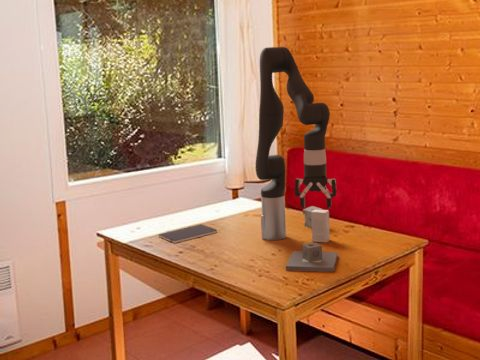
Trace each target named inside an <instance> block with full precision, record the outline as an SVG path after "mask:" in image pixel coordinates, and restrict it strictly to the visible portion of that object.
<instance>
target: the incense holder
mask: <svg viewBox="0 0 480 360" xmlns="http://www.w3.org/2000/svg"><path fill="white" fill-rule="evenodd" d="M313 210H324V209H323V208H320V207H317V206H314V205H311V206H308V207H305V208H303V209H302V214H303V215H304V219H305V220H304V223H303V225H304V227H308V228H312V219H311V212H312V211H313Z"/></svg>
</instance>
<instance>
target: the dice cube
mask: <svg viewBox="0 0 480 360" xmlns="http://www.w3.org/2000/svg"><path fill="white" fill-rule="evenodd" d="M301 246H302V248H301V251H302V256H303V259H305V260H307V261H309V262H313V261H318V260H322V252H323V245H321V244H319V243H317V242H313V241H312V242H309V243H303V244H301Z"/></svg>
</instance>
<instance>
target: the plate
mask: <svg viewBox="0 0 480 360" xmlns="http://www.w3.org/2000/svg"><path fill="white" fill-rule="evenodd" d="M338 257H339V256H338V252H337V251H336V252H335V251H334V252H333V251H322V260H318V261H313V262H309V261H307V260H305V259H303V256H302V250H293V251H292V253H291V255H290V256H289V259H288V261H287V263H286V265H285V271H291V272H292V271H293V272H294V271H295V272H296V271H298V272H320V273H321V272H323V273H325V272H326V273H328V272H329V273H334V271H335V268H336V265H337V260H338Z"/></svg>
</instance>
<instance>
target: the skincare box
mask: <svg viewBox="0 0 480 360" xmlns="http://www.w3.org/2000/svg"><path fill="white" fill-rule="evenodd" d="M329 210H330V209H323V210H313V211H312V212H311V219H312V227H311V240H312V242H315V243H317V242H318V243H328V242H329V241H330V240H331V237H330V211H329Z"/></svg>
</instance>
